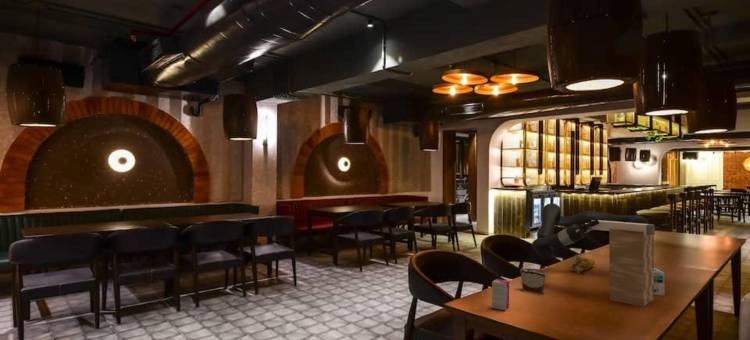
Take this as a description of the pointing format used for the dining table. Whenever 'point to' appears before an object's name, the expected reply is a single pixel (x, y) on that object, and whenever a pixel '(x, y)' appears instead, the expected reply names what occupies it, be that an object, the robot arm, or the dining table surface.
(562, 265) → the dining table surface
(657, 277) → the light bulb box
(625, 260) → the stand
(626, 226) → the bar
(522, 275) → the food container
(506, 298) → the supplement box
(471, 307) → the dining table surface
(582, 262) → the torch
